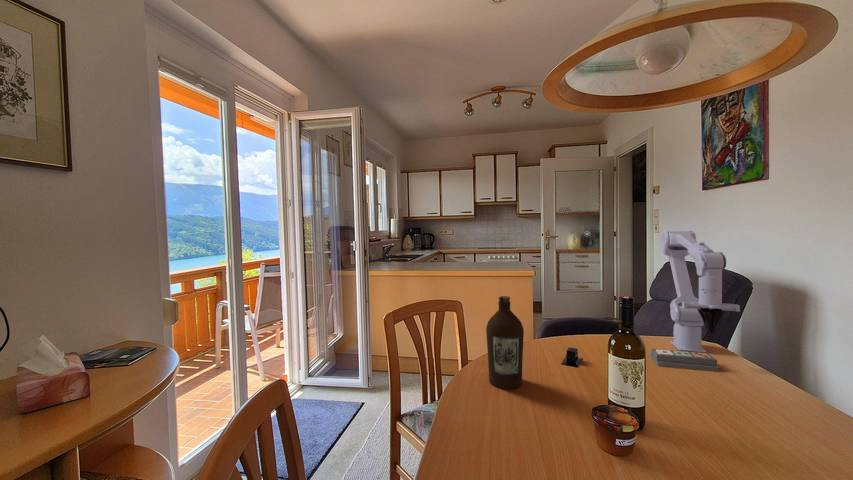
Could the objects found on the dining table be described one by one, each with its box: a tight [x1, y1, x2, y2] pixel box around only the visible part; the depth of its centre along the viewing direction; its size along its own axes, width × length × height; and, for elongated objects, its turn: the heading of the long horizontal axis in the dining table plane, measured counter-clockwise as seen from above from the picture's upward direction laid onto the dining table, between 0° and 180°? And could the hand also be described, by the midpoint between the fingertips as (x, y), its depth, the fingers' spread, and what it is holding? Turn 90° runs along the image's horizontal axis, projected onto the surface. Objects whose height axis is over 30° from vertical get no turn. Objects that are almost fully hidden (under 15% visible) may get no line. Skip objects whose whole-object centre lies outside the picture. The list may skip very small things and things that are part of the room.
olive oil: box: [485, 295, 525, 390], centre depth 100 cm, size 11×11×25 cm
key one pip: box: [656, 349, 674, 356], centre depth 112 cm, size 4×4×2 cm
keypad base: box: [649, 348, 720, 372], centre depth 111 cm, size 8×16×3 cm, turn 72°
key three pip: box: [690, 351, 712, 359], centre depth 109 cm, size 4×4×2 cm
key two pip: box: [673, 350, 693, 357], centre depth 111 cm, size 4×4×2 cm
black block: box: [560, 347, 584, 369], centre depth 115 cm, size 12×7×5 cm, turn 146°
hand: (709, 332), depth 110 cm, fingers closed
